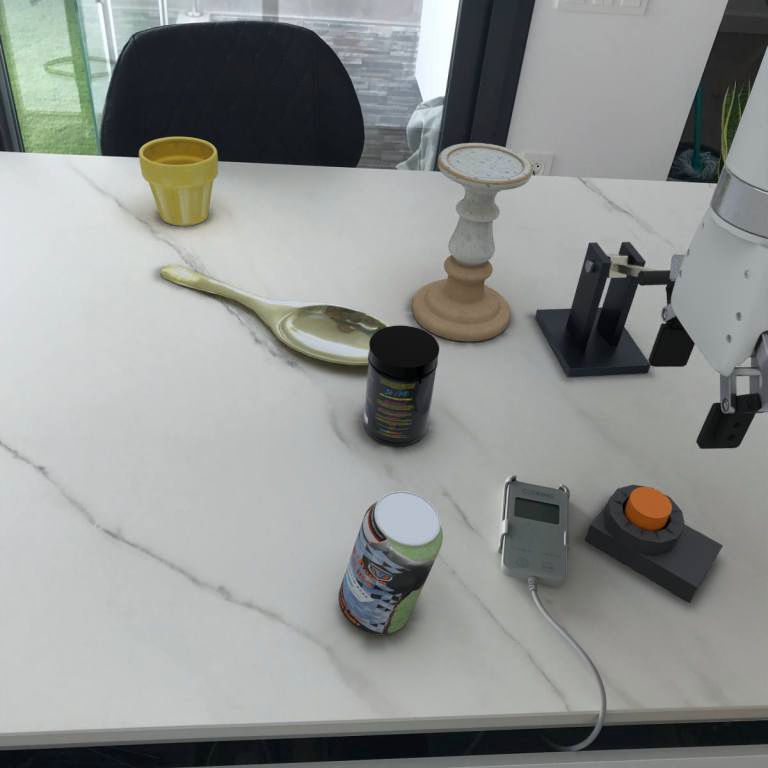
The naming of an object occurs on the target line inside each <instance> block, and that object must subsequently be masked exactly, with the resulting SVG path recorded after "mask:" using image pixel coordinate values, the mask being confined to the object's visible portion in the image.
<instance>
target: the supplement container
mask: <svg viewBox="0 0 768 768" xmlns="http://www.w3.org/2000/svg"><path fill="white" fill-rule="evenodd" d="M439 354H440V343H439V342H438V340H437V339H436V338H435V336H433V335H432V333H429V331H426V330H423V329H422V328H419V327H415V326H411V325H403V324H402V325H399V324H398V325H390V326H389V327H386V328H383V329H380V330H379V331H377V332H376V333H374V334H373V335H372V337H371V339H370V342H369V353H368V365H367V371H366V387H365V397H364V398H365V399H364V400H365V401H364V410H363V424H364V427H365V429H366V431H367V433H368V434H369V435H370V436H371V437H372V438H373V439H375V440H377V442H380V443H382V444H385V445H389V446H395V447H396V446H397V447H401V446H406V445H407V446H408V445H411V444H413V443H415V442H417V441H418V440H420V439H422V437H423V436H424V435H425V434H426V433H427V431H428V426H429V421H430V414H431V407H432V399H433V395H434V394H433V393H434V387H435V380H436V373H437V368H438V365H439V356H440V355H439Z"/></svg>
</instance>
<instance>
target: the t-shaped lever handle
mask: <svg viewBox="0 0 768 768" xmlns="http://www.w3.org/2000/svg"><path fill="white" fill-rule="evenodd" d="M605 254H606V255H607V257H608V258H609V259H610V261H611V262H612V264H611V267H610V270H609V274H608V277H607V279H611V278H626V277H627V275H630V276H634V277H638V278H637V279H638V283H639V284H638V286H641V287H642V286H667V283H668V282H669V281H671V279H670V269H664V270H663V269H662V270H661V269H655V268H650V267H646V266H644V267H641V266H637V265H632V264H628V256H625V255H620V254H618V253H605Z"/></svg>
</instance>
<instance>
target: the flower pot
mask: <svg viewBox="0 0 768 768" xmlns="http://www.w3.org/2000/svg"><path fill="white" fill-rule="evenodd" d="M218 156H219V155H218V150H217V148H216V147H215V146H214V145H213V144H212V143H211V142H209V141H207V140H205V139H204V140H203V139H201V138H197V137H189V136H167V137H160V138H156V139H153V140H150V141H148V142H146V143H145V144H143V145H142V146H141V147H140V148H139V150H138V158H139V166H140V172H141V176H142V177H143V179H144V180H145V181H146V182H148V185H149V188H150V190H151V193H152V196H153V198H154V202H155V205H156V207H157V210H158V213H159V215H160V218H161V219H162V220H163V221H164V222H165V223H167V224H169V225H174V226H178V227H188V226H189V227H190V226H195V225H198V224H201V223H203V222H204V221H206V220H207V218H208V216H209V211H210V205H211V198H212V191H213V186H214V180H215V179H216V178H217V177H218V175H219V157H218Z"/></svg>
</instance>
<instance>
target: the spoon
mask: <svg viewBox="0 0 768 768" xmlns="http://www.w3.org/2000/svg"><path fill="white" fill-rule="evenodd" d="M160 276H161V278H162V279H165V280H167V281H169V282H171V283H174V284H176V285H181V286H185V287H187V288H191V289H194V290H198V291H203V292H207V293H211V294H215V295H219V296H221V297H225V298H229V299H230V300H231V299H232V300H234V301H237V302H238V303H239V304H241V305H243V306H245V307H247V308H249V309H250V310H252V311H254V312H255V314H256V315H257V316H258V317H259V319H261V320H262V321H263V323H264V324H265V325H266V326H267V327H268V328H269V329H270V331H272V333H273V335H274V336H275V337H276V338H277V340H279V341H281V342H282V343H284V344H285V345H286V346H288V347H289V348H291V349H292V350H295V351H297V352H299V353H301V354H303V355H305V356H308V357H311V358H314V359H318V360H321V361H324V362H328V363H333V364H340V365H348V366H368V353H369V342H370V339H371V337H372V335H373V334H374V333H376V332H377V331H379V330H380V329H383V328H386V327H389V326H391V325H389V324H388V323H387V322H385V321H383V320H382V319H380V318H379V317H376V316H374V315H371V314H370V313H366V312H364V311H362V310H360V309H356V308H352V307H348V306H344V305H340V304H333V303H326V302H301V301H293V300H292V301H291V300H281V299H274V298H273V299H272V298H268V297H264V296H261V295H258V294H254V293H251V292H247V291H245V290H243V289H240V288H238V287H235V286H233V285H231V284H228V283H225V282H223V281H221V280H218V279H216V278H213V277H211V276H208V275H205V274H203V273H200V272H197V271H195V270H192V269H188V268H185V267H182V266H179V265H166V266H161V268H160Z"/></svg>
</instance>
